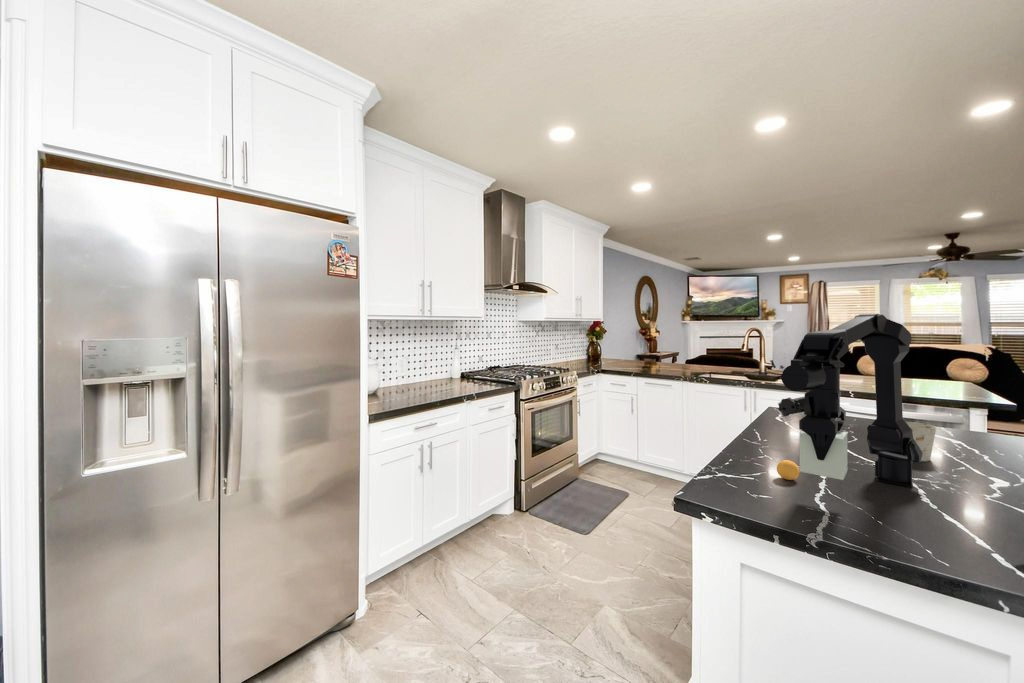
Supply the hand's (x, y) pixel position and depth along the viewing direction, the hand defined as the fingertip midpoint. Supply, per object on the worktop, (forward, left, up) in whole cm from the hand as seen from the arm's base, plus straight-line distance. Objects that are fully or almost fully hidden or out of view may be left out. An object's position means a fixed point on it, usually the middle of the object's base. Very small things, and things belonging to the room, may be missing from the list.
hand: (823, 455), depth 91 cm
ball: (+9, -11, -8) cm, 17 cm away
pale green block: (0, 0, -4) cm, 4 cm away
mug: (-13, -53, -11) cm, 56 cm away
